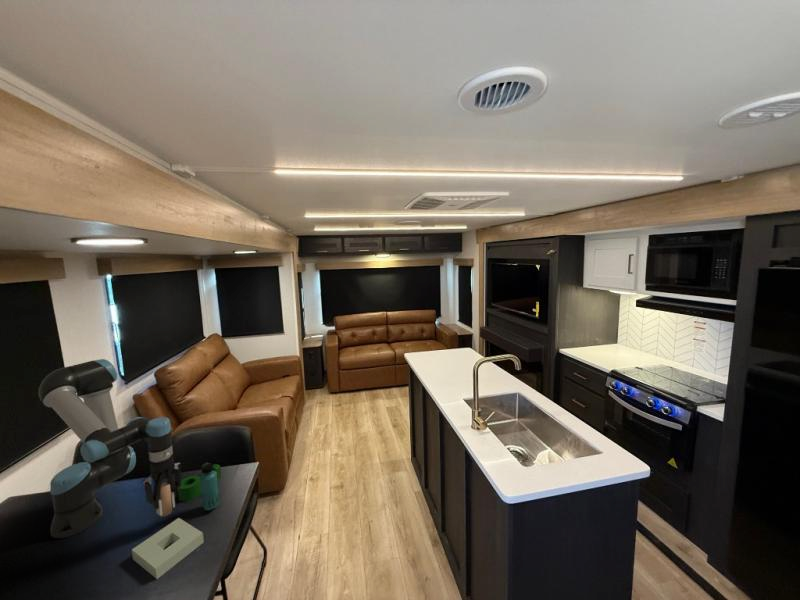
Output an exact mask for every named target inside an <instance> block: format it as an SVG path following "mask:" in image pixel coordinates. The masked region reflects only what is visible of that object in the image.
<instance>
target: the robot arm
mask: <svg viewBox="0 0 800 600" xmlns="http://www.w3.org/2000/svg"><path fill="white" fill-rule="evenodd" d="M115 367H116V366H114V365H113V364H112V362H111V361H109V360H108V359H105V358H104V359H103V358H101V359H94V360H90V361H85V362H82V363H77V364H73V365H70V366H64V367H60V368H57V369H55V370H53V371H52V372H50V373H48V374H47V375H46V376H45V377H44V378H43V379H42V381H41V383H40V385H39V388H38V398H39V400H40V402H41V403H42V404H43V405H44V406H45V407H47V408H52V409H53V410H54V412H55V413H56V414H57V415H58V416H59V417H60V418H61V420H62V421H64V423H65V424H66V425H67V426H68V428H69V429H70V430H71V432H73V434H75V436H77V438H79V440H80V441H81V442H82V444H81V445H80V455H81V456H82V459H83V460H84V461H83V462H78V463H74V464H72V465H70V466H67V467H65V468H63V469H62V470H60V471H59V472H57V473H56V474H55V475H54V476H53V478H52V479H51V480H50V483H49V484H50V490H49V491H50V494H51V501H52V506H53V511H54V512H53V513H54V515H53V518H52V520H51V524H50V529H49V531H50V532H49V533H50V535H51V537H52V538H54V539H63V538H69V537H71V536H74V535H77V534H78V533H79V534H80V533H81V532H83V531H85V530H87V529H89V528H90V527H92V526H93V525H95V524H96V523H97V522H98V521H99V520H100V519H101V517H102V515H103V508H102V505H101V504H100V502H99V501H98V500H97V499H96V497H95V492H96V491H97V490H99V489H101V488H103V487H105V486H107V485H108V484H110V483H113V482H114V481H117V480H118V479H120V478H123V477H124V476H125V475H127V474H129V473H130V472H132V471H133V470H134V468H135V467H136V463H137V457H136V456H137V455H136V452H135V451H134V448H133V447H132V446H131V445H133V444H136V443H138V442H140V441H142V442H146V443H147V451H148V460H149V470H150V474H149V476H148V477H147V478H146V479H143V480H142V481H141V484H142V485H143V486H144V492H145V498H146V499H145V500H146V502H147V503H149V504H150V505H152V504H153V505H152V506H153V508H154V510H156V514H157V515H158V516H160V517H162V516H161V515H163V513H162V503H161V500H160V499H159V496H160V489H161V484H162V483H163V481H164V480H166V481H167V482H168V483H170V489H171V500H172V509H173V508H176V501H175V499H176V498H177V493H178V487H180V486H181V480H182V473H181V472H182V471H181V469H182V466H183V464H182V463H180V462H174V450H173V439H172V426H171V420H170V418H168V417H167V416H166V417H165V416H163V417H162V416H160V417H155V418H152V419H150V418H148V417H142V416H138V417H133V418H132V419H131V420H129V421H128V422H127V423H126V425H124V426H122V427H120V428H119V427H118V422H117V418H116V413H115V409H114V405H113V401H112V396H111V391H112V390H113V388H114V386H113V383H115V382H116V381H117V380H118V373H117V369H116V368H115ZM172 472H174V474H173V473H172ZM173 476H174V478H173ZM152 480H153V489H152Z"/></svg>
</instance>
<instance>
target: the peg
mask: <svg viewBox="0 0 800 600" xmlns="http://www.w3.org/2000/svg"><path fill="white" fill-rule="evenodd" d="M159 499H160V500H161V503H162V513H163V515H161V516H160V517H167V516H169V515H171V514H172V512H173V508H172V500H171V489H170V483H168V482H162V484H161V489H160V496H159Z"/></svg>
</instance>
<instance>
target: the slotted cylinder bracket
mask: <svg viewBox="0 0 800 600" xmlns="http://www.w3.org/2000/svg"><path fill="white" fill-rule="evenodd" d="M206 464H211V462H205V463H204V464H202V466H201V467H200V470H201V474H200V475H197V474H194V475H188V476H186V477H185V478H182V479H181V486H180V487H178V488H177V489H178V491H177V493H178V499H179V501H181V502H188V501H189V502H190V501H192V500H194V499H196V498H198V497H199V496H200V495H202V490H201V480H200V477H201V476H202V474H203V472H202V470H203V466H204V465H206ZM213 468H214V469H213V471H216V472H217V480H218V479H220V478H221V476H222V474H221V471H222V470H221V465H220V464H218V463H217V464H216V463H214V464H213Z"/></svg>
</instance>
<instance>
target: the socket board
mask: <svg viewBox="0 0 800 600" xmlns="http://www.w3.org/2000/svg"><path fill="white" fill-rule="evenodd" d="M202 544H204V533H203V532H202V531H201V530H199V529H197V528H196V527H195V526H193V525H191V524H189V523H188V522H186V521H185V520H183V519H182V518H180V517H178V518H176V519H174V520H173V521H171V522H170V523H169V524H167V525H166V526H164V527H163V528H161V529H160V530H158V531H157V532H156V533H154V534H152V535H151V536H150V537H148V538H147V539H145V540H144V541H142V542H141V543H139V544H138V545H136V546H135V547H133V548H132V549H131V554H132V560H133V561H134V562H135V563H137V564H138V565H139V566H140V567H142V568H143V569H144V570H145V571H146V572H148V573H149V574H150V575H151V576H152V577H154V578H155V579H156V580H158V579H159V578H161V577H162V576H164V574H165V573H167V572H168V571H170V570H171V569H172V568H173V567H174V566H175V565H177V564H178V563H179V562H181V561H182V560H183V559H185V558H186V557H187V556H188V555H189V554H191V553H192V552H193V551H194V550H196V549H197V548H199V546H201V545H202Z"/></svg>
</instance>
